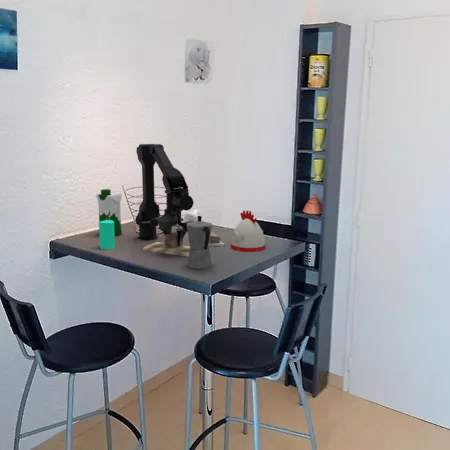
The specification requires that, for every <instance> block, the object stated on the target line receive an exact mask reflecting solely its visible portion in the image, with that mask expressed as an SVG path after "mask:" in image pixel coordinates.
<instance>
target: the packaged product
mask: <svg viewBox="0 0 450 450" xmlns="http://www.w3.org/2000/svg"><path fill="white" fill-rule="evenodd" d="M225 245H226V243H225V242H222V241H221V237H220V236H219V235H218V234H216V233H215V232H213V231H211V235H210V242H209V248H211V247H223V246H225Z"/></svg>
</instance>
